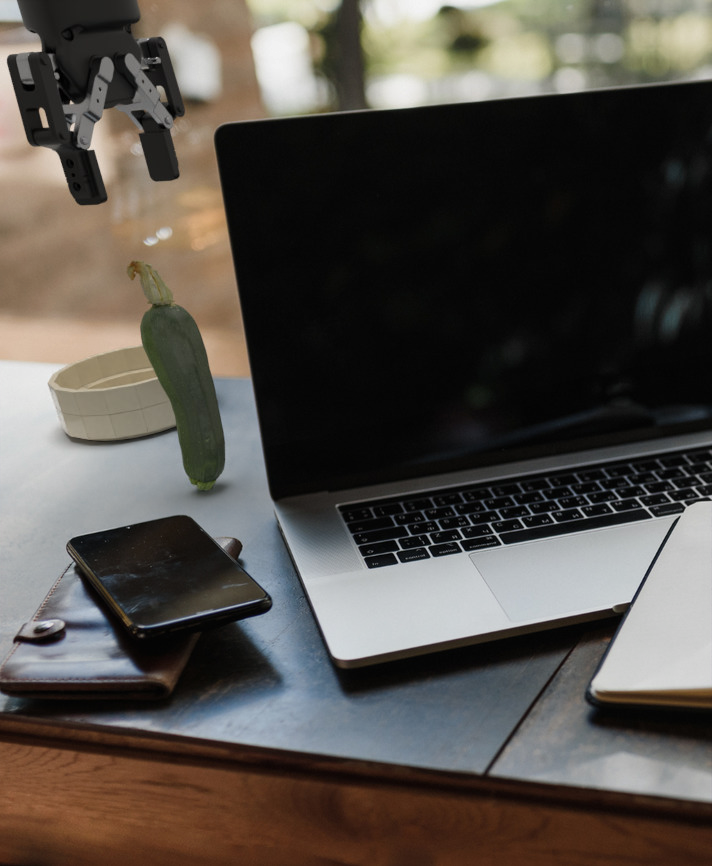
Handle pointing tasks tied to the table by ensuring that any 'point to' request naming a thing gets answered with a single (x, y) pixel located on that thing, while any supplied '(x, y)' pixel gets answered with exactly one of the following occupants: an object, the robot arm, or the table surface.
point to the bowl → (111, 397)
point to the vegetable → (182, 377)
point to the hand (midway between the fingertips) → (131, 191)
